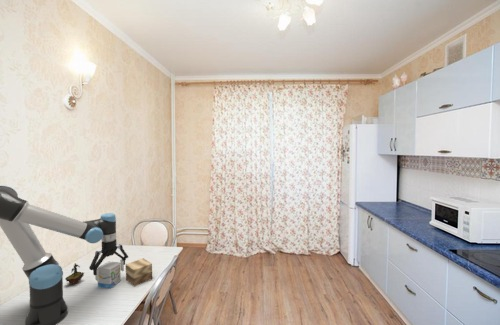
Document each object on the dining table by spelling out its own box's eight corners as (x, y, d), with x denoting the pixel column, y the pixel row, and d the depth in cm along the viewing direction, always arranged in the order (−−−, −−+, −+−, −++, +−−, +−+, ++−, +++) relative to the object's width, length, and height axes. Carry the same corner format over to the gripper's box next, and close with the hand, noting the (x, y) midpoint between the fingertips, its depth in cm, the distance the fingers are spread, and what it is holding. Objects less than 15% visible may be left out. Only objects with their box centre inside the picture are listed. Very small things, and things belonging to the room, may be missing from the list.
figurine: (75, 278, 144) (74, 259, 144) (87, 279, 144) (87, 259, 143) (61, 287, 135) (61, 267, 134) (74, 288, 134) (74, 267, 134)
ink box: (109, 288, 134) (109, 269, 134) (97, 286, 136) (97, 267, 135) (121, 280, 143) (120, 262, 142) (108, 279, 144) (108, 260, 144)
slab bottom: (134, 287, 137) (134, 278, 137) (126, 280, 144) (125, 272, 144) (152, 279, 146) (152, 271, 145) (143, 273, 153) (143, 265, 152)
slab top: (134, 278, 137) (133, 270, 137) (125, 272, 144) (125, 264, 144) (152, 271, 145) (152, 263, 145) (143, 265, 152) (143, 258, 152)
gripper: (86, 248, 126) (87, 286, 127) (133, 235, 145) (134, 268, 147) (81, 245, 131) (83, 281, 132) (128, 232, 150) (129, 265, 151)
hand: (110, 275), depth 139 cm, fingers open, 13 cm apart
